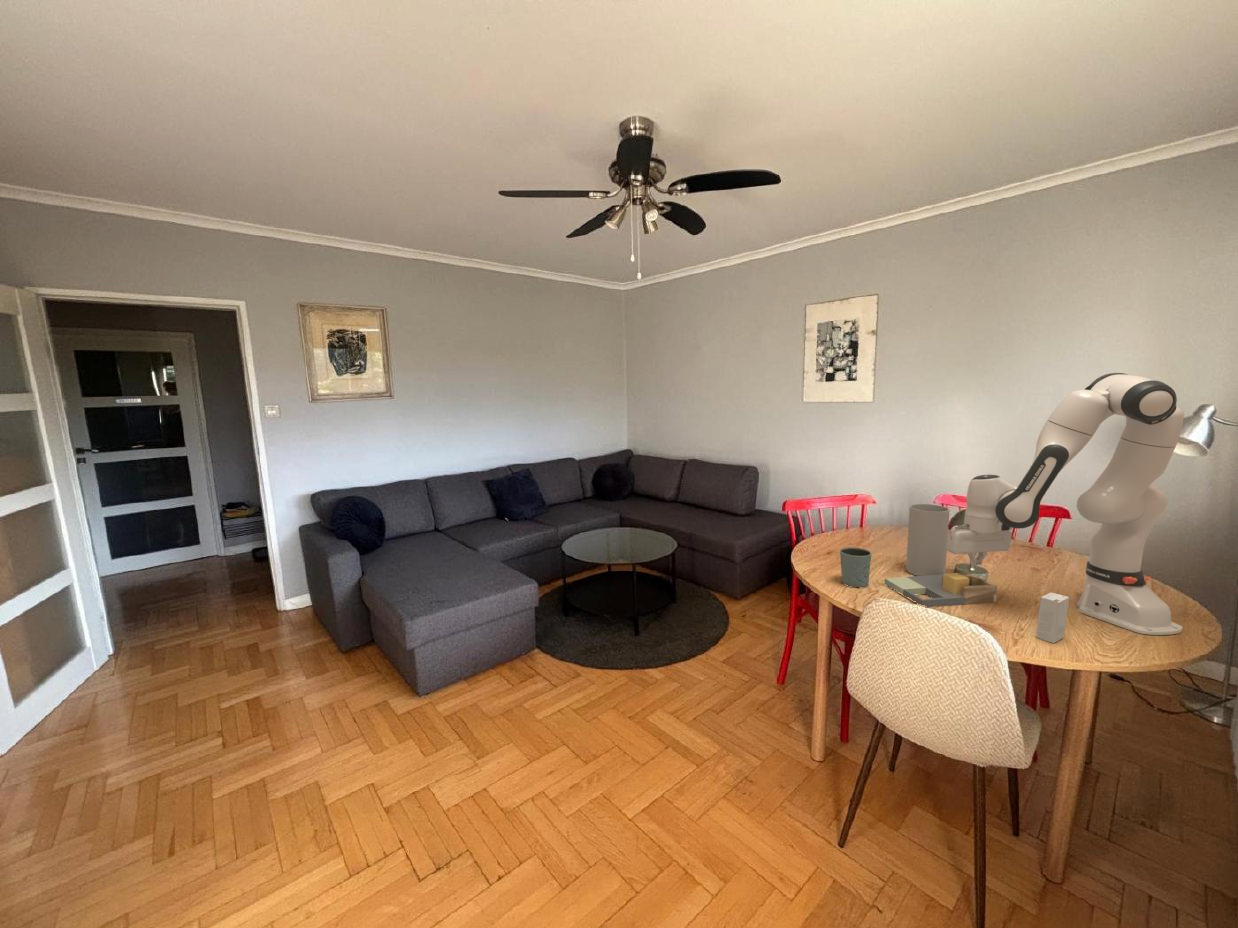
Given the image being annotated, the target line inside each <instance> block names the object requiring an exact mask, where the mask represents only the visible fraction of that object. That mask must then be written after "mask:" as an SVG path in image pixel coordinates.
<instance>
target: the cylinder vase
mask: <svg viewBox="0 0 1238 928" xmlns="http://www.w3.org/2000/svg"><path fill="white" fill-rule="evenodd" d="M908 508H909V511H908V527H907V528H908V529H907V545H906V546H907V547H906V562H905V563H906V564H905V565H906V566H905V569H906V571H907V572H908V573H909V574H911V575H913V576H926V575H940V574H946V569H947V567H946V566H947V554H948V553H947V552H948V550H947V549H946V544H947V539H948V536H949V527H948V525H949V524H950V521H949V520H950V508H948V507H946V506H943V505H939V504H929V503H917V504H915V503H914V504H911V505H909V507H908Z"/></svg>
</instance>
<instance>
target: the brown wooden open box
mask: <svg viewBox="0 0 1238 928" xmlns="http://www.w3.org/2000/svg"><path fill="white" fill-rule="evenodd" d="M962 575H963V576H965V577H967V578H969V585H971V584H972V585H974V586H963V587H962V593H961V596H963V597H965V601H966V600H967V599H969V598H970V599H971V600H967V601H966V602H967V604H966V602H965V604H964V605H972V604H973V603H974V604H975V605H977V604H987V603H988V604H989V603H997V598H998V585H996V584H994V583H991V582H989V581H988V580H985V579H983V578H980V577H978V576H976V575H975V574H970V573H968V574H962ZM942 585H943V578H942ZM979 596H980V597H979ZM984 596H985V597H984ZM988 596H989V597H988ZM991 596H992V597H991ZM974 597H975V598H974ZM977 598H978V599H979V600H978V599H977ZM982 598H983V600H982ZM985 598H986V599H987V598H989V600H988V599H987V600H988V601H989V602H988V601H987V600H985ZM995 598H996V599H995ZM974 599H976V600H975V601H976V602H973V601H974ZM980 599H981V601H982V602H981V601H980ZM990 599H991V600H990ZM993 599H994V600H993ZM972 600H973V601H972ZM992 600H993V601H992ZM985 602H986V603H985Z"/></svg>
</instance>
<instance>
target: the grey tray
mask: <svg viewBox="0 0 1238 928" xmlns="http://www.w3.org/2000/svg"><path fill="white" fill-rule="evenodd" d="M942 578H943V574H940V575H926V576H916V575H913V576H911V575H910V576H902V577H886V578H884V584H886V585H887V586H889V587H890V588H889V587H888V588H889V589H891V588H892V589H895V590H897V591H898V592H900V593H902V594H903V595H904V596H906V597H909V598H911V599H912V600H913V601H916V602H915V603H918V604H921V605H925V606H927V607H926V608H934V607H933V606H937V608H938V607H949V606H961V605H962V606H963V605H968V604H967V602H966V601H967V600H971V599H970V598H969V599H967V600H966V601H965V597H963V596H961V594H953V593H951V592H949V591H947V590H945V589H943V585H942ZM886 585H885V586H886ZM887 586H886V587H887ZM969 586H974V585H972V584H971V585H969ZM892 589H891V590H892ZM915 594H926V596H927V595H928V597H929V598H922V597H920V595H915ZM904 596H903V597H904ZM931 597H932V598H931ZM979 597H980V596H979ZM984 597H985V596H984ZM988 597H989V596H988ZM991 597H992V596H991ZM974 598H975V597H974ZM977 599H978V598H977ZM987 599H988V600H989V598H987ZM987 599H986V598H985V600H987ZM995 599H996V598H995ZM975 600H976V599H974V601H973V600H972V601H973V602H976V601H975ZM978 600H979V599H978ZM982 600H983V598H982ZM988 600H987V601H988ZM990 600H991V599H990ZM993 600H994V599H993ZM993 600H992V601H993ZM996 600H997V599H996ZM980 601H981V599H980ZM965 602H966V604H965ZM981 602H982V601H981ZM988 602H989V601H988ZM915 603H914V604H915ZM973 604H974V603H973ZM984 604H987V603H986V602H985V603H984Z"/></svg>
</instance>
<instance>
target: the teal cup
mask: <svg viewBox="0 0 1238 928" xmlns="http://www.w3.org/2000/svg"><path fill="white" fill-rule="evenodd" d="M839 555H840V566H841V567H840V570H841V583H842V582H843V583H844V584H846V585H848V586H847V587H849V586H852V587H851V588H853V587H865V588H867V587H869V581H870V571H871V561H872V552H871V551H870V550H868V549H866V548H862V547H853V546H852V547H851V546H849V547H842V548H841V549H840V550H839ZM843 583H842V584H843ZM844 584H843V585H844ZM846 585H845V586H846ZM866 586H867V587H866Z"/></svg>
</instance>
